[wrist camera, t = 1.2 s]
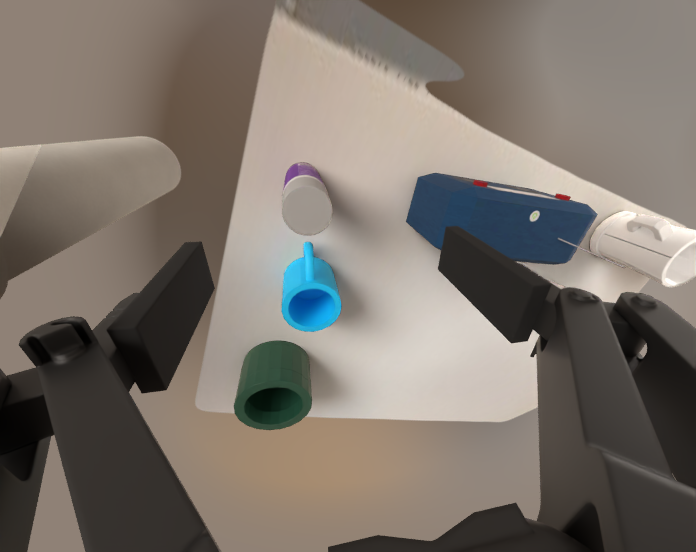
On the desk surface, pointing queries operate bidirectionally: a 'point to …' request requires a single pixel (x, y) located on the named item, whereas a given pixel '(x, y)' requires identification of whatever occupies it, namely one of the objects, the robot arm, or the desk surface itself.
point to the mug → (310, 293)
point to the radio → (501, 217)
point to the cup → (648, 247)
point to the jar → (274, 386)
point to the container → (305, 200)
